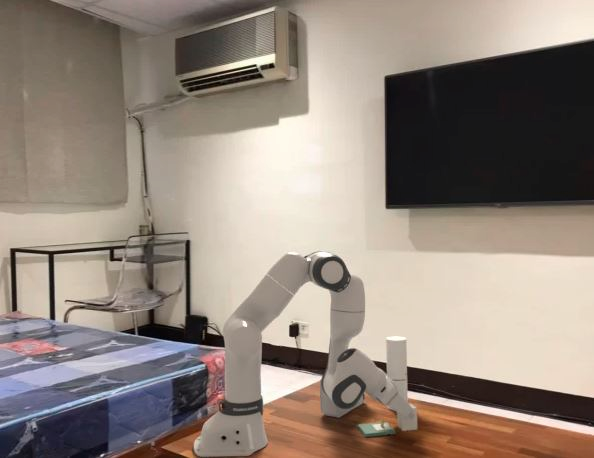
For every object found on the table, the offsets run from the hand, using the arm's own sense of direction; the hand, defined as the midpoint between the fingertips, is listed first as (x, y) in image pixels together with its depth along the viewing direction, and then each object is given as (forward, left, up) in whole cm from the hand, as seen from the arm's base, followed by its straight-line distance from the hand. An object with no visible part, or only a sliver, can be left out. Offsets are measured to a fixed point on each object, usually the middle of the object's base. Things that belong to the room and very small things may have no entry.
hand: (408, 414), depth 178 cm
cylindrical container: (+3, +19, -5) cm, 20 cm away
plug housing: (-1, 0, -4) cm, 4 cm away
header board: (-11, 0, -4) cm, 12 cm away
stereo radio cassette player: (-16, +22, -5) cm, 28 cm away
